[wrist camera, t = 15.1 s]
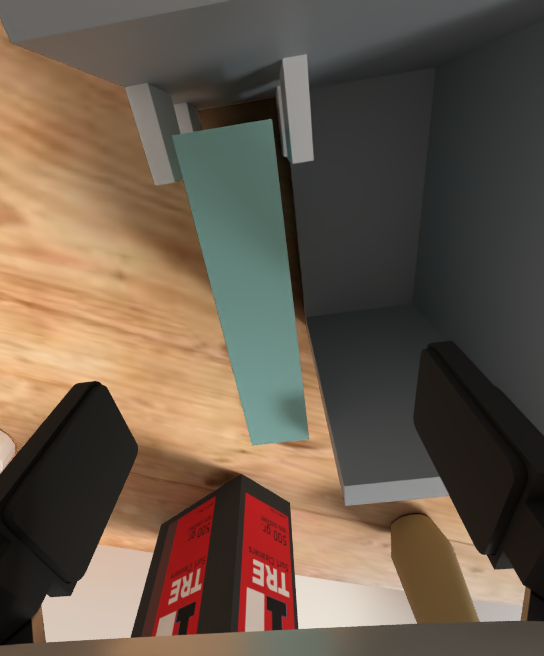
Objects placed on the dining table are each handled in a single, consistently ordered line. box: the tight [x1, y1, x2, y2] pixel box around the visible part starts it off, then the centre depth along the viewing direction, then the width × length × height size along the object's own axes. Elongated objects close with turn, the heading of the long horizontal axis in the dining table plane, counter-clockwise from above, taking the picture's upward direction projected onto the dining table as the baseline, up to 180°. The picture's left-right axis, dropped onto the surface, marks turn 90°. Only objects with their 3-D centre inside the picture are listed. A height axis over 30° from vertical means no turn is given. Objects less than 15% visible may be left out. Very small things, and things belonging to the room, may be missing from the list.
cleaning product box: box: [131, 474, 298, 638], centre depth 35 cm, size 16×9×20 cm, turn 134°
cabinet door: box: [172, 119, 309, 445], centre depth 18 cm, size 14×4×13 cm, turn 8°
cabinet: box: [0, 0, 544, 506], centre depth 16 cm, size 20×16×16 cm
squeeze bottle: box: [391, 514, 480, 624], centre depth 37 cm, size 8×8×18 cm
